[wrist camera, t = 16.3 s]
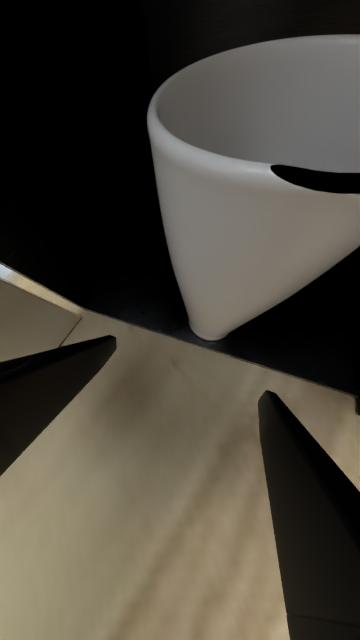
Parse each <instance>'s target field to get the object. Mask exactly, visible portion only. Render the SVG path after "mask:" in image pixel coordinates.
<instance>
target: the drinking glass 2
mask: <svg viewBox="0 0 360 640" xmlns="http://www.w3.org/2000/svg"><path fill="white" fill-rule="evenodd" d="M147 128H148V133H149V139H150V145H151V152H152V158H153V165H154V172H155V179H156V185H157V192H158V198H159V204H160V210H161V216H162V221H163V227H164V232H165V237H166V242H167V246H168V251H169V255H170V259H171V263H172V267H173V270H174V274H175V277H176V280H177V283H178V286H179V289H180V293H181V296H182V299H183V302H184V305H185V308H186V311H187V315H188V321H189V325H190V327H191V329H192V330H193V332H194V333H195V334H196V335H197V336H199V337H201V338H203V339H206V340H219V339H222V338H224V337H225V336H227V335H228V334H229V333H230V332H232V331H233V330H235V329H237V328H238V327H240V326H242V325H243V324H245V323H247V322H249V321H250V320H252V319H254V318H255V317H257V316H259V315H261V314H262V313H264V312H266V311H268V310H269V309H271V308H273V307H274V306H276V305H278V304H279V303H281V302H283V301H284V300H286V299H287V298H289V297H291V296H292V295H294V294H295V293H297V292H298V291H299V290H301V289H302V288H304V287H305V286H307V285H308V284H310V283H311V282H313V281H314V280H315V279H317V278H318V277H320V276H321V275H322V274H324V273H325V272H327V271H328V270H329V269H331V268H332V267H333V266H335V265H336V264H337V263H339V262H340V261H341V260H343V259H344V258H345V257H347V256H348V255H349V254H351V253H352V252H353V251H355V250H356V249H357V248H359V247H360V34H334V35H314V36H302V37H293V38H285V39H278V40H271V41H266V42H260V43H255V44H251V45H246V46H242V47H238V48H234V49H231V50H227V51H224V52H221V53H218V54H215V55H212V56H209V57H207V58H204V59H202V60H199V61H197V62H195V63H193V64H191V65H189V66H187V67H185V68H183V69H181V70H180V71H178V72H177V73H175V74H173V75H172V76H171V77H169V78H168V79H167V80H166V81H165V82H164V83H163V84H162V85H161V86H160V87H159V88H158V89H157V90H156V92H155V93H154V95H153V97H152V99H151V101H150V103H149V107H148V111H147Z"/></svg>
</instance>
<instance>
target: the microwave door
mask: <svg viewBox="0 0 360 640" xmlns="http://www.w3.org/2000/svg"><path fill="white" fill-rule="evenodd" d="M80 319H81V317H80V316H79V315H77V314H75V313H74V312H72V311H69V310H67V309H65V308H63V307H61V306H59V305H57V304H55V303H53V302H51V301H48V300H46V299H44V298H42V297H40V296H38V295H36V294H34V293H32V292H30V291H27V290H25V289H23V288H21V287H19V286H17V285H15V284H13V283H11V282H8V281H6V280H4V279H2V278H0V362H2V361H6V360H11V359H15V358H19V357H23V356H27V355H31V354H35V353H39V352H43V351H47V350H51V349H55V348H58V346H59V345H60V344H61V343H62V341H63V340H64V339H65V338H66V336H67V335H68V334H69V333H70V331H71V330H72V329H73V328H74V326H75V325H76V324H77V323H78V321H79V320H80Z"/></svg>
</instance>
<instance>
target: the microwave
mask: <svg viewBox="0 0 360 640" xmlns="http://www.w3.org/2000/svg"><path fill="white" fill-rule="evenodd" d="M334 34H360V0H0V264H2V265H4V266H5V267H7V268H9V269H11V270H12V271H14V272H16V273H18V274H20V275H22V276H23V277H25V278H27V279H29V280H31V281H33V282H34V283H36V284H38V285H40V286H42V287H44V288H45V289H47V290H49V291H51V292H53V293H54V294H56V295H58V296H60V297H62V298H64V299H65V300H67V301H69V302H71V303H73V304H75V305H76V306H78V307H80V308H82V309H84V310H87V311H91V312H94V313H97V314H100V315H103V316H106V317H109V318H112V319H115V320H118V321H121V322H125V323H128V324H131V325H134V326H137V327H140V328H143V329H146V330H149V331H152V332H155V333H159V334H162V335H165V336H168V337H171V338H174V339H177V340H180V341H183V342H186V343H189V344H193V345H196V346H199V347H202V348H205V349H208V350H211V351H214V352H217V353H220V354H223V355H227V356H230V357H233V358H236V359H239V360H242V361H245V362H248V363H251V364H254V365H257V366H261V367H264V368H267V369H270V370H273V371H276V372H279V373H282V374H285V375H288V376H291V377H295V378H298V379H301V380H304V381H307V382H310V383H313V384H316V385H319V386H322V387H325V388H329V389H332V390H335V391H338V392H341V393H344V394H347V395H350V396H353V397H356V398H357V399H358V415H359V416H360V247H359V248H357V249H356V250H355V251H353V252H352V253H351V254H349V255H348V256H347V257H345V258H344V259H343V260H341V261H340V262H339V263H337V264H336V265H335V266H333V267H332V268H331V269H329V270H328V271H327V272H325V273H324V274H322V275H321V276H320V277H318V278H317V279H315V280H314V281H313V282H311V283H310V284H308V285H307V286H305V287H304V288H302V289H301V290H299V291H298V292H297V293H295V294H294V295H292V296H291V297H289V298H287V299H286V300H284V301H283V302H281V303H279V304H278V305H276V306H274V307H273V308H271V309H269V310H268V311H266V312H264V313H262V314H261V315H259V316H257V317H255V318H254V319H252V320H250V321H249V322H247V323H245V324H243V325H242V326H240V327H238V328H237V329H235V330H233V331H232V332H230V333H229V334H228V335H227V336H225V337H224V338H222V339H219V340H206V339H203V338H201V337H199V336H197V335H196V334H195V333H194V332H193V330H192V329H191V327H190V325H189V321H188V315H187V311H186V308H185V305H184V302H183V299H182V296H181V293H180V289H179V286H178V283H177V280H176V277H175V274H174V270H173V267H172V263H171V259H170V255H169V251H168V246H167V242H166V237H165V232H164V227H163V221H162V216H161V210H160V204H159V198H158V192H157V185H156V179H155V172H154V165H153V158H152V152H151V145H150V139H149V133H148V128H147V111H148V107H149V103H150V101H151V99H152V97H153V95H154V93H155V92H156V90H157V89H158V88H159V87H160V86H161V85H162V84H163V83H164V82H165V81H166V80H167V79H168V78H169V77H171V76H172V75H173V74H175V73H177V72H178V71H180V70H181V69H183V68H185V67H187V66H189V65H191V64H193V63H195V62H197V61H199V60H202V59H204V58H207V57H209V56H212V55H215V54H218V53H221V52H224V51H227V50H231V49H234V48H238V47H242V46H246V45H251V44H255V43H260V42H266V41H271V40H278V39H285V38H293V37H302V36H314V35H334Z"/></svg>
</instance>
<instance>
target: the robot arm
mask: <svg viewBox="0 0 360 640" xmlns="http://www.w3.org/2000/svg"><path fill="white" fill-rule="evenodd" d="M116 348H117V343H116V337H114V336H112V335H107V336H103V337H99V338H95V339H91V340H87V341H83V342H79V343H75V344H71V345H67V346H63V347H59V348H55V349H51V350H47V351H43V352H39V353H35V354H31V355H27V356H23V357H19V358H15V359H11V360H6V361H2V362H0V476H1V475H2V474H3V473H4V472H5V471H6V470H7V468H8V467H9V466H10V465H11V464H12V463H13V462H14V461H15V460H16V459H17V458H18V457H19V456H20V455H21V454H22V452H23V451H24V450H25V449H26V448H27V447H28V446H29V445H30V444H31V443H32V442H33V441H34V440H35V439H36V438H37V437H38V435H39V434H40V433H41V432H42V431H43V430H44V429H45V428H46V427H47V426H48V425H49V424H50V423H51V422H52V421H53V420H54V419H55V417H56V416H57V415H58V414H59V413H60V412H61V411H62V410H63V409H64V408H65V407H66V406H67V405H68V404H69V403H70V402H71V401H72V399H73V398H74V397H75V396H76V395H77V394H78V393H79V392H80V391H81V390H82V389H83V388H84V387H85V386H86V385H87V384H88V383H89V381H90V380H91V379H92V378H93V377H94V376H95V375H96V374H97V373H98V372H99V371H100V370H101V368H102V367H103V366H104V365H105V363H106V362H107V361H108V359H109V358H110V357H111V356H112V354H113V353H114V352H115V350H116ZM258 412H259V432H260V442H261V448H262V455H263V462H264V468H265V475H266V481H267V488H268V495H269V501H270V508H271V515H272V521H273V528H274V535H275V541H276V548H277V554H278V561H279V568H280V574H281V581H282V588H283V594H284V601H285V608H286V612H287V622H288V629H289V635H290V640H360V491H359V490H358V489H357V488H356V487H355V486H354V484H353V483H352V482H351V481H350V480H349V479H348V477H347V476H346V475H345V474H344V473H343V472H342V470H341V469H340V468H339V467H338V466H337V465H336V463H335V462H334V461H333V460H332V459H331V457H330V456H329V455H328V454H327V453H326V452H325V450H324V449H323V448H322V447H321V446H320V445H319V443H318V442H317V441H316V440H315V439H314V438H313V436H312V435H311V434H310V433H309V432H308V431H307V429H306V428H305V427H304V426H303V425H302V424H301V422H300V421H299V420H298V419H297V418H296V417H295V415H294V414H293V413H292V412H291V411H290V409H289V408H288V407H287V406H286V405H285V404H284V402H283V401H282V400H281V399H280V398H279V397H278V395H277V394H276V393H274V392H271V391H268V390H266V391H265V392H264V393H263V395H262V396H261V397H260V399H259V401H258Z"/></svg>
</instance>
